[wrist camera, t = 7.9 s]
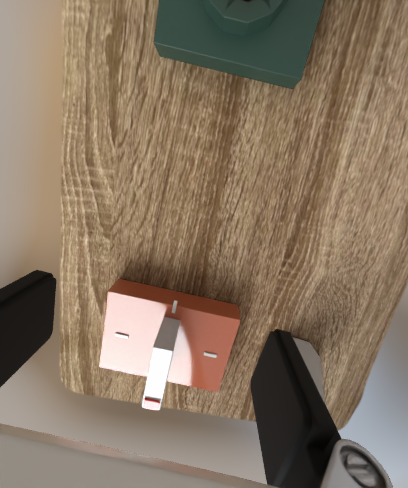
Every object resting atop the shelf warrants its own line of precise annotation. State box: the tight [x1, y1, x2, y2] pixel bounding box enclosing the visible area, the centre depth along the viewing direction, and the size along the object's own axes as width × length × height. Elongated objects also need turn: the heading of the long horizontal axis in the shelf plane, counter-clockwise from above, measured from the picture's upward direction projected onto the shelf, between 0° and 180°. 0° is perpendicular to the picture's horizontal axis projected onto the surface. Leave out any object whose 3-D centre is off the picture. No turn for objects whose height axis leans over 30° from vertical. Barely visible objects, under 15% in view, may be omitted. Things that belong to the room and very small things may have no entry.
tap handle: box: [142, 317, 180, 411], centre depth 23 cm, size 7×2×5 cm, turn 167°
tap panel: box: [99, 279, 241, 392], centre depth 27 cm, size 14×11×3 cm
